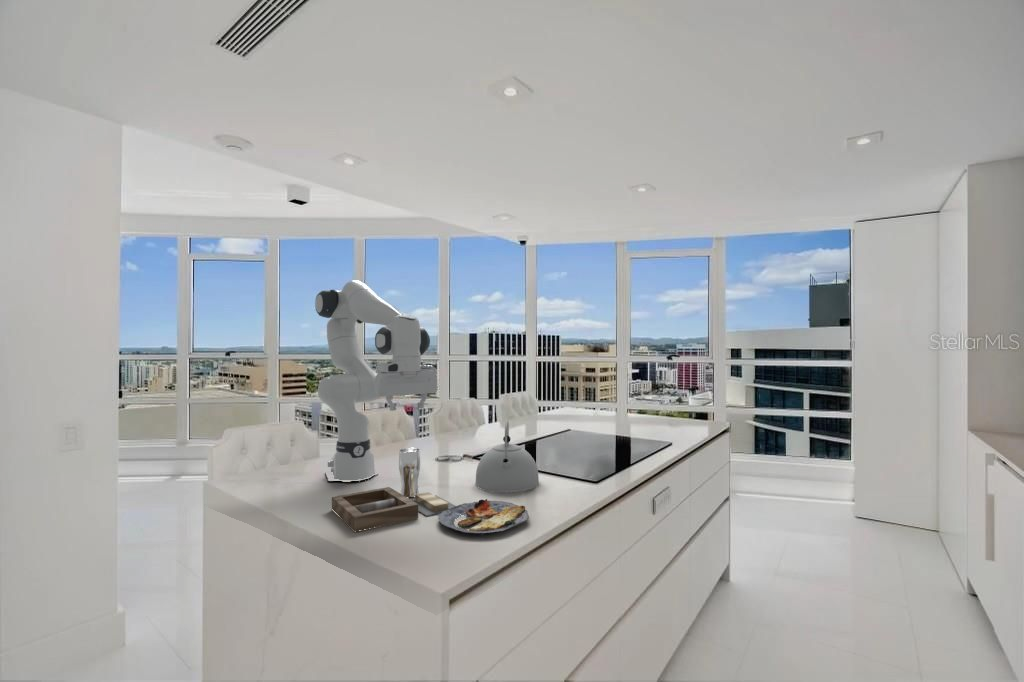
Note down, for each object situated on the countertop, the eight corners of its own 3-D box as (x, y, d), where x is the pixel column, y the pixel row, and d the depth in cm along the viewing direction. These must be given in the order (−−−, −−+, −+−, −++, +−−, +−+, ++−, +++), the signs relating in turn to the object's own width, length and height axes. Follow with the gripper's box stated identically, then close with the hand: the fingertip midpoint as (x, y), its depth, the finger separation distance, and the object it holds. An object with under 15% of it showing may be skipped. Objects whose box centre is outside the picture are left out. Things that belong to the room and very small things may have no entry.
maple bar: (415, 500, 156) (415, 494, 157) (428, 497, 159) (428, 491, 159) (434, 512, 145) (434, 505, 145) (448, 509, 148) (448, 503, 148)
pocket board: (331, 510, 148) (331, 497, 148) (389, 499, 159) (389, 486, 159) (355, 532, 130) (355, 517, 130) (418, 518, 141) (418, 504, 141)
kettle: (540, 494, 163) (539, 426, 163) (471, 494, 164) (471, 426, 164) (538, 475, 188) (537, 415, 188) (478, 475, 189) (478, 416, 189)
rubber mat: (404, 502, 155) (404, 501, 155) (435, 496, 162) (435, 495, 162) (426, 516, 142) (426, 515, 142) (459, 509, 149) (459, 507, 149)
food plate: (484, 501, 155) (483, 490, 155) (544, 518, 141) (544, 506, 141) (422, 526, 136) (422, 514, 136) (485, 549, 121) (485, 534, 121)
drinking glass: (399, 499, 159) (399, 452, 159) (398, 493, 165) (398, 448, 165) (421, 497, 160) (421, 451, 161) (419, 491, 167) (419, 447, 167)
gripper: (432, 364, 166) (432, 405, 166) (372, 366, 154) (372, 410, 154) (440, 365, 161) (441, 407, 161) (379, 366, 149) (379, 412, 149)
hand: (407, 409), depth 157 cm, fingers open, 8 cm apart
